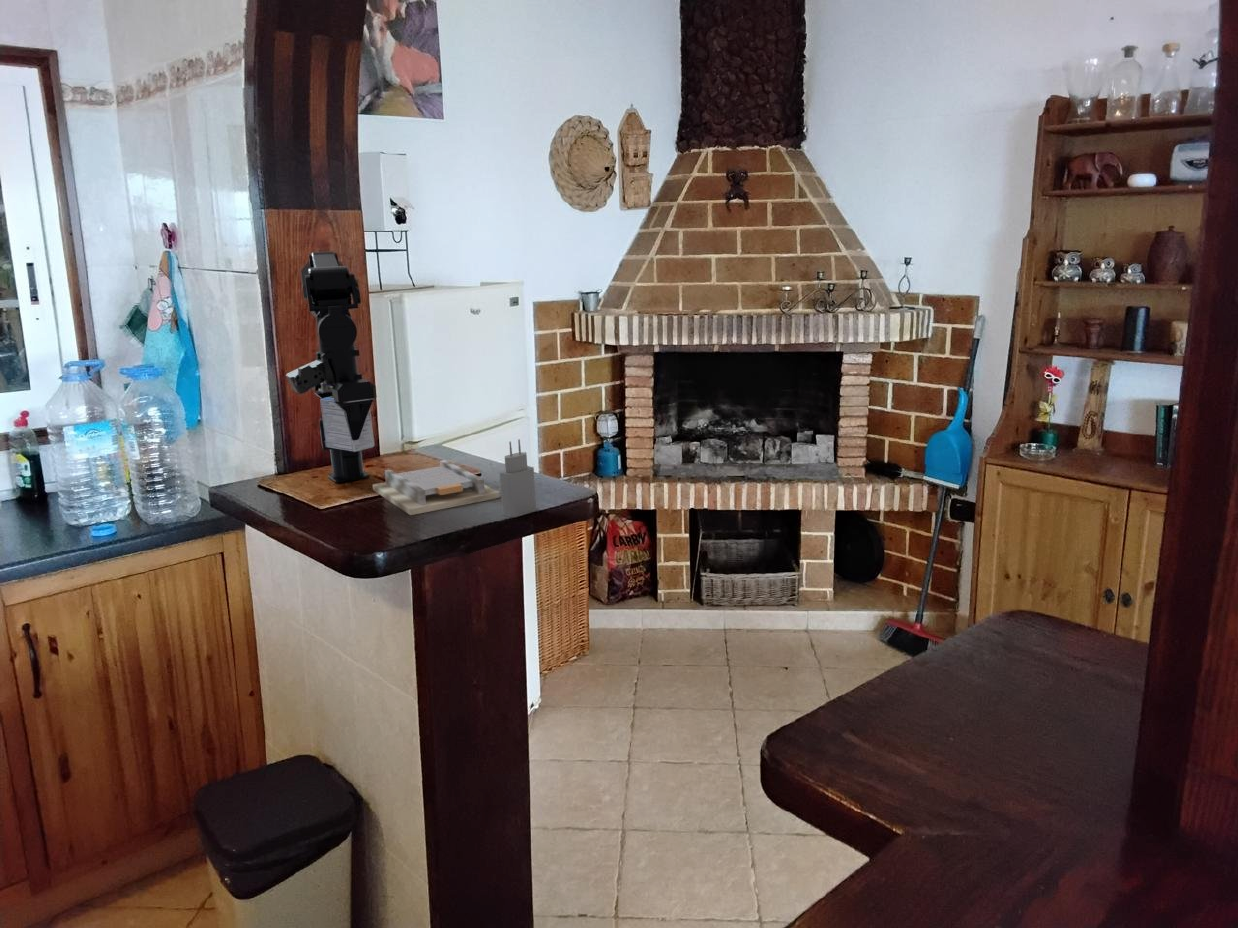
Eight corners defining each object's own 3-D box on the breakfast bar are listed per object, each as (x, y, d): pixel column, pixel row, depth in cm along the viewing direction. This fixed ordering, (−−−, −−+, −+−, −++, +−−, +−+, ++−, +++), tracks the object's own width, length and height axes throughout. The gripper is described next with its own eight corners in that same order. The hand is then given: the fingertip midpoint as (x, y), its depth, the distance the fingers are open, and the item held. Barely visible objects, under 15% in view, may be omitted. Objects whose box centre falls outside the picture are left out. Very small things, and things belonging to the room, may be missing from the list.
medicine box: (375, 447, 158) (370, 397, 155) (354, 452, 154) (348, 401, 152) (346, 442, 162) (341, 393, 160) (325, 447, 159) (319, 398, 157)
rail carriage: (396, 479, 167) (395, 473, 167) (443, 470, 171) (442, 465, 171) (426, 497, 154) (425, 492, 154) (476, 488, 158) (476, 482, 158)
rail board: (373, 489, 168) (370, 471, 167) (455, 475, 176) (454, 457, 175) (410, 515, 151) (408, 494, 151) (499, 497, 159) (498, 478, 159)
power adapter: (538, 509, 151) (533, 438, 149) (512, 517, 148) (507, 444, 145) (525, 506, 154) (521, 436, 151) (500, 514, 150) (495, 442, 147)
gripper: (274, 344, 158) (286, 434, 161) (301, 354, 142) (313, 452, 146) (340, 338, 163) (350, 424, 167) (372, 346, 148) (382, 442, 151)
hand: (347, 435), depth 158 cm, fingers closed on medicine box, 9 cm apart
